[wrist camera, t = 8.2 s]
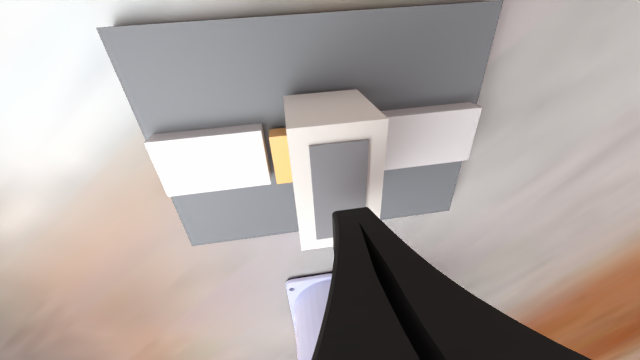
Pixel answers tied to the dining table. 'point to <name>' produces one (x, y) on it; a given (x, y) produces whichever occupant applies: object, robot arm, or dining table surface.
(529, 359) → the robot arm
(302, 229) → the block
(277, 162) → the block
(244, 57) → the rail board
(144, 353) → the dining table surface
